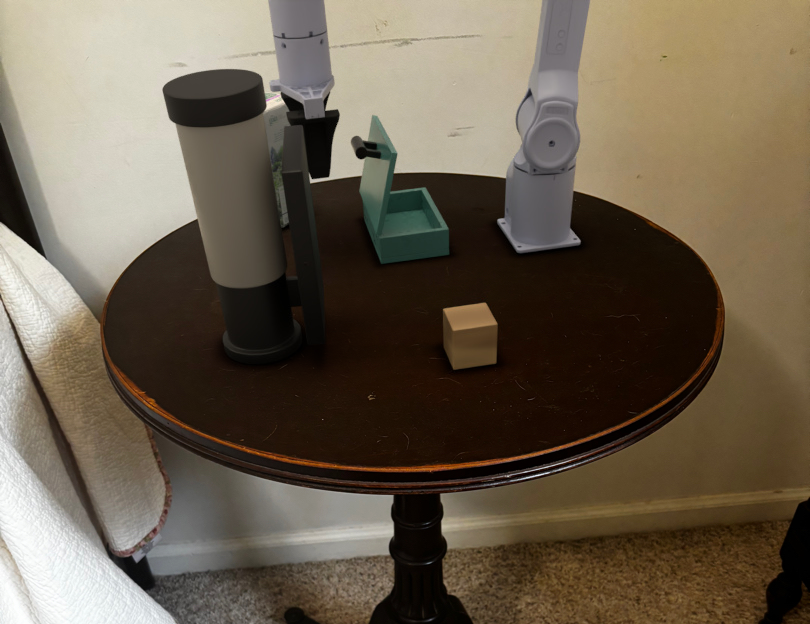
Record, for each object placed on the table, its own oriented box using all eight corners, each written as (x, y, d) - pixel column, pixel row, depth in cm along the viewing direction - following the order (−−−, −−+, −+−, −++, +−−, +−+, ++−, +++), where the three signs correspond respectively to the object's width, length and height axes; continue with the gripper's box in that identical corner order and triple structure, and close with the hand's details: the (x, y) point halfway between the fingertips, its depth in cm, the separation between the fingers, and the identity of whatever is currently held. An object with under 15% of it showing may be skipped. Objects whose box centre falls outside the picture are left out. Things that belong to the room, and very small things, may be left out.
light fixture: (228, 318, 88) (171, 67, 71) (326, 309, 89) (294, 57, 71) (219, 378, 80) (152, 109, 62) (329, 368, 80) (292, 98, 63)
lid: (377, 115, 97) (347, 110, 96) (397, 153, 88) (365, 147, 86) (364, 192, 103) (336, 188, 102) (381, 235, 94) (351, 231, 92)
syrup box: (278, 206, 110) (259, 89, 100) (310, 214, 107) (295, 96, 97) (249, 221, 107) (227, 102, 97) (282, 230, 104) (262, 109, 94)
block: (443, 347, 82) (442, 308, 79) (485, 341, 82) (485, 302, 79) (453, 370, 79) (453, 330, 76) (496, 363, 79) (497, 323, 76)
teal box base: (426, 211, 106) (425, 187, 104) (449, 254, 97) (449, 228, 95) (364, 219, 105) (362, 195, 103) (381, 264, 96) (379, 238, 94)
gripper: (258, 20, 88) (278, 149, 98) (266, 53, 78) (288, 194, 88) (321, 14, 89) (334, 142, 99) (337, 45, 79) (351, 186, 88)
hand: (316, 166), depth 93 cm, fingers open, 6 cm apart
